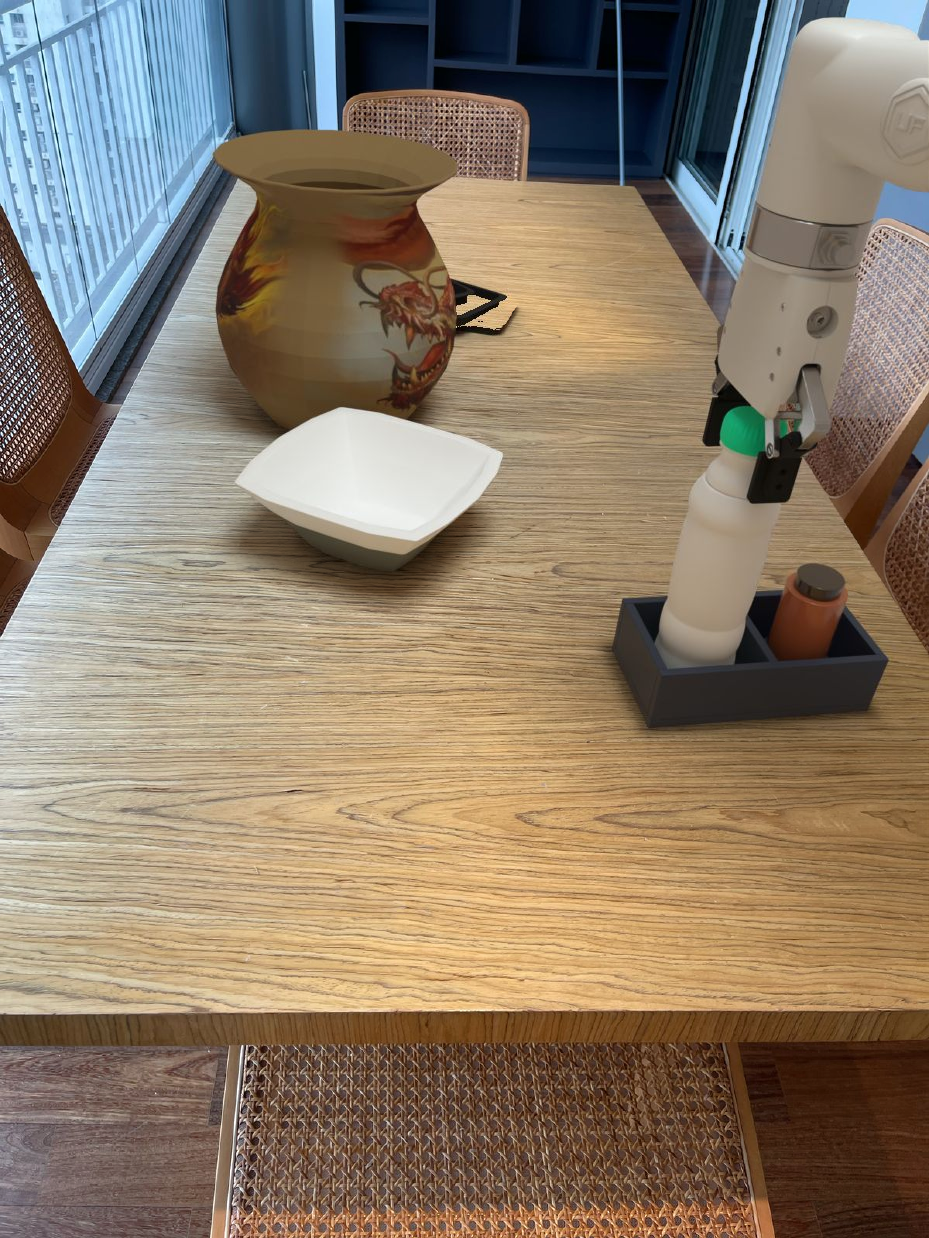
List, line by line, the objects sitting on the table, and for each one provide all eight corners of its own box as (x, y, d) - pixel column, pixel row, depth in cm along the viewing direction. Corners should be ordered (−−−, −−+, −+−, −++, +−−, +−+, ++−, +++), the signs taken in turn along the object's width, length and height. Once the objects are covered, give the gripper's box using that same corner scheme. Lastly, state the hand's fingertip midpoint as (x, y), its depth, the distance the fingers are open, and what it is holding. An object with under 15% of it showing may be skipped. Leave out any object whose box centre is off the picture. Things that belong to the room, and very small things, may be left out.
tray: (520, 298, 166) (523, 266, 162) (516, 352, 147) (519, 318, 144) (340, 281, 166) (340, 249, 163) (313, 333, 148) (312, 298, 144)
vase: (441, 471, 117) (458, 204, 99) (196, 448, 117) (169, 178, 99) (457, 371, 140) (474, 140, 122) (253, 353, 140) (239, 119, 122)
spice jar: (802, 648, 93) (834, 557, 87) (828, 685, 89) (864, 592, 83) (750, 652, 92) (779, 560, 86) (774, 689, 88) (806, 596, 82)
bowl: (334, 465, 117) (333, 398, 111) (514, 520, 110) (522, 451, 105) (219, 555, 100) (212, 481, 95) (422, 627, 93) (426, 551, 88)
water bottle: (650, 642, 92) (710, 389, 77) (728, 656, 91) (803, 403, 76) (646, 692, 86) (709, 429, 71) (728, 707, 86) (810, 444, 70)
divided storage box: (611, 650, 93) (622, 598, 89) (813, 637, 96) (831, 586, 93) (648, 729, 84) (662, 675, 81) (867, 711, 88) (889, 659, 85)
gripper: (928, 284, 60) (841, 531, 70) (800, 202, 73) (743, 419, 84) (813, 283, 59) (742, 535, 69) (704, 199, 72) (658, 421, 83)
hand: (743, 470), depth 76 cm, fingers open, 8 cm apart
